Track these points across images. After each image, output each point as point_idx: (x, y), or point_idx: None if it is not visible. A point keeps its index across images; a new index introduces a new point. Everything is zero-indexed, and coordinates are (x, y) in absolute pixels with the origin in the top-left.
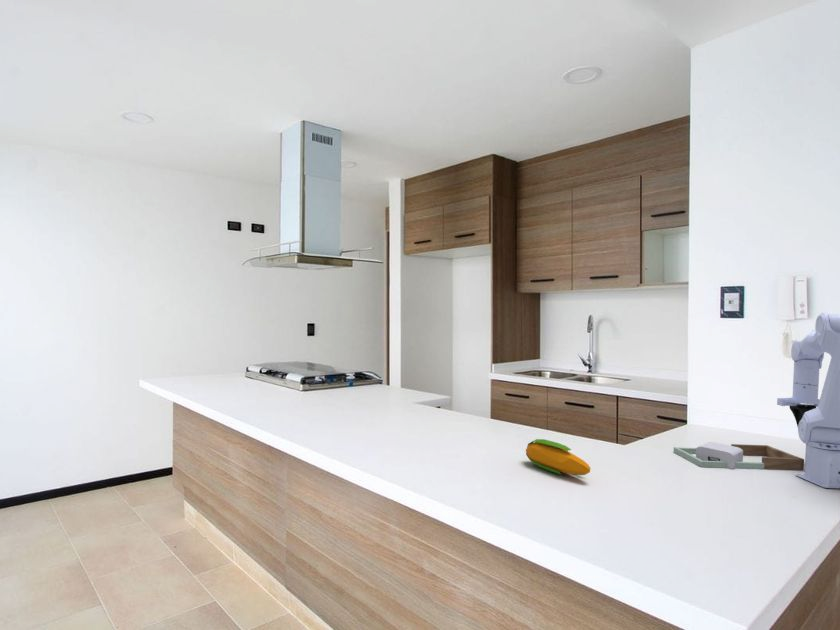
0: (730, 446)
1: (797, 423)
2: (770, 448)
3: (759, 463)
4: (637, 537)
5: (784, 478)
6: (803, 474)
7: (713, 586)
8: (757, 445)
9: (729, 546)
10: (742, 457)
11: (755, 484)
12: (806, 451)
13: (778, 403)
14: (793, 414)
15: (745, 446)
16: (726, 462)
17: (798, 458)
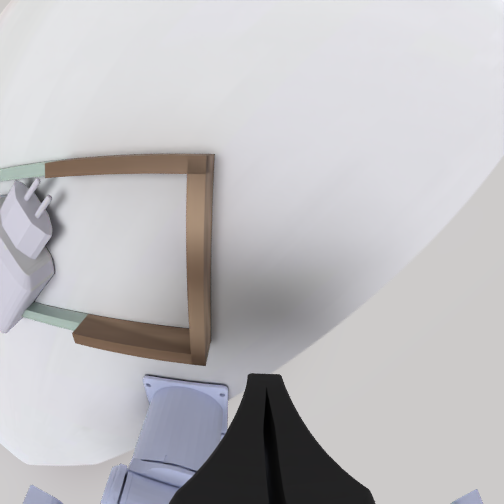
0: (3, 272)
1: (239, 410)
2: (187, 203)
3: (71, 329)
4: None
5: (108, 380)
6: (161, 385)
7: (15, 452)
8: (144, 166)
9: (18, 443)
10: (43, 284)
11: (46, 387)
12: (135, 449)
13: (34, 499)
14: (210, 456)
15: (89, 174)
16: None
17: (191, 356)
